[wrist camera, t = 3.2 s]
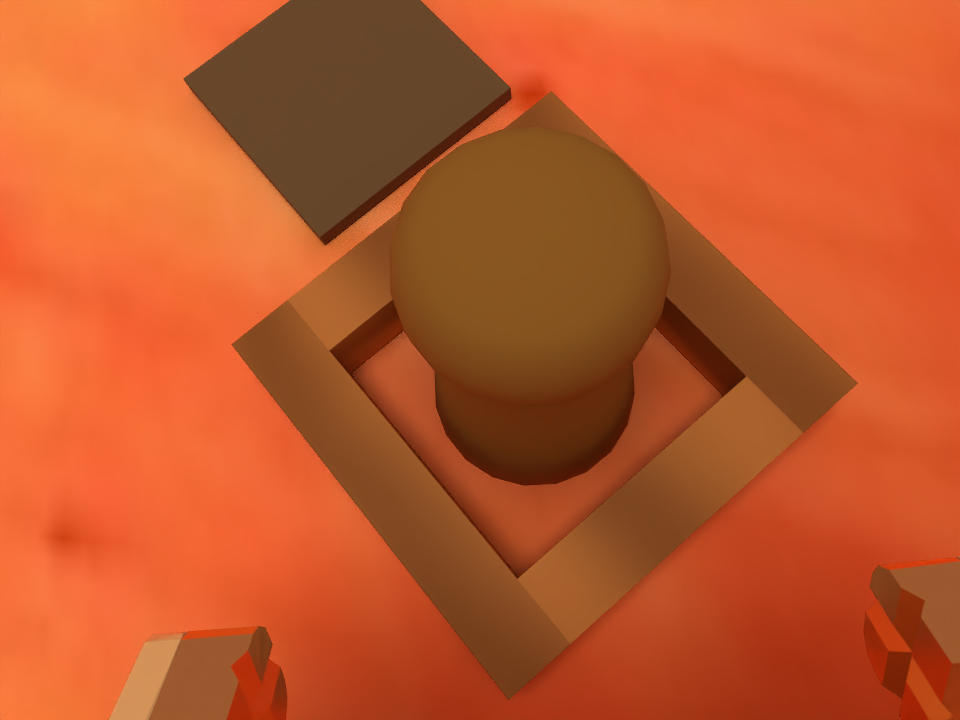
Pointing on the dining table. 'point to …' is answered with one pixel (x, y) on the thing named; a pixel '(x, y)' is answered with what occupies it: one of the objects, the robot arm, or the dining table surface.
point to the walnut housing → (613, 525)
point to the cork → (530, 297)
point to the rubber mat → (346, 100)
